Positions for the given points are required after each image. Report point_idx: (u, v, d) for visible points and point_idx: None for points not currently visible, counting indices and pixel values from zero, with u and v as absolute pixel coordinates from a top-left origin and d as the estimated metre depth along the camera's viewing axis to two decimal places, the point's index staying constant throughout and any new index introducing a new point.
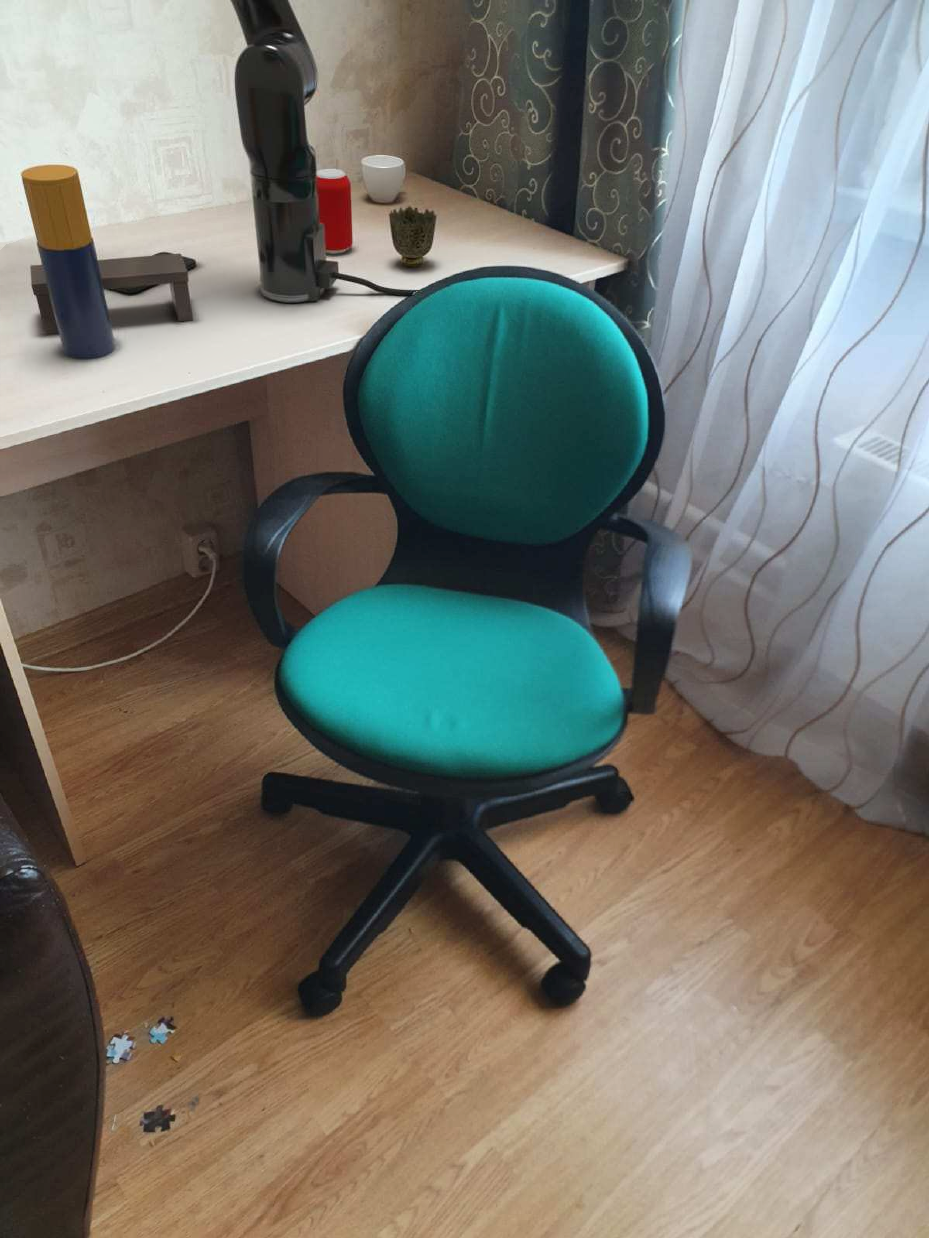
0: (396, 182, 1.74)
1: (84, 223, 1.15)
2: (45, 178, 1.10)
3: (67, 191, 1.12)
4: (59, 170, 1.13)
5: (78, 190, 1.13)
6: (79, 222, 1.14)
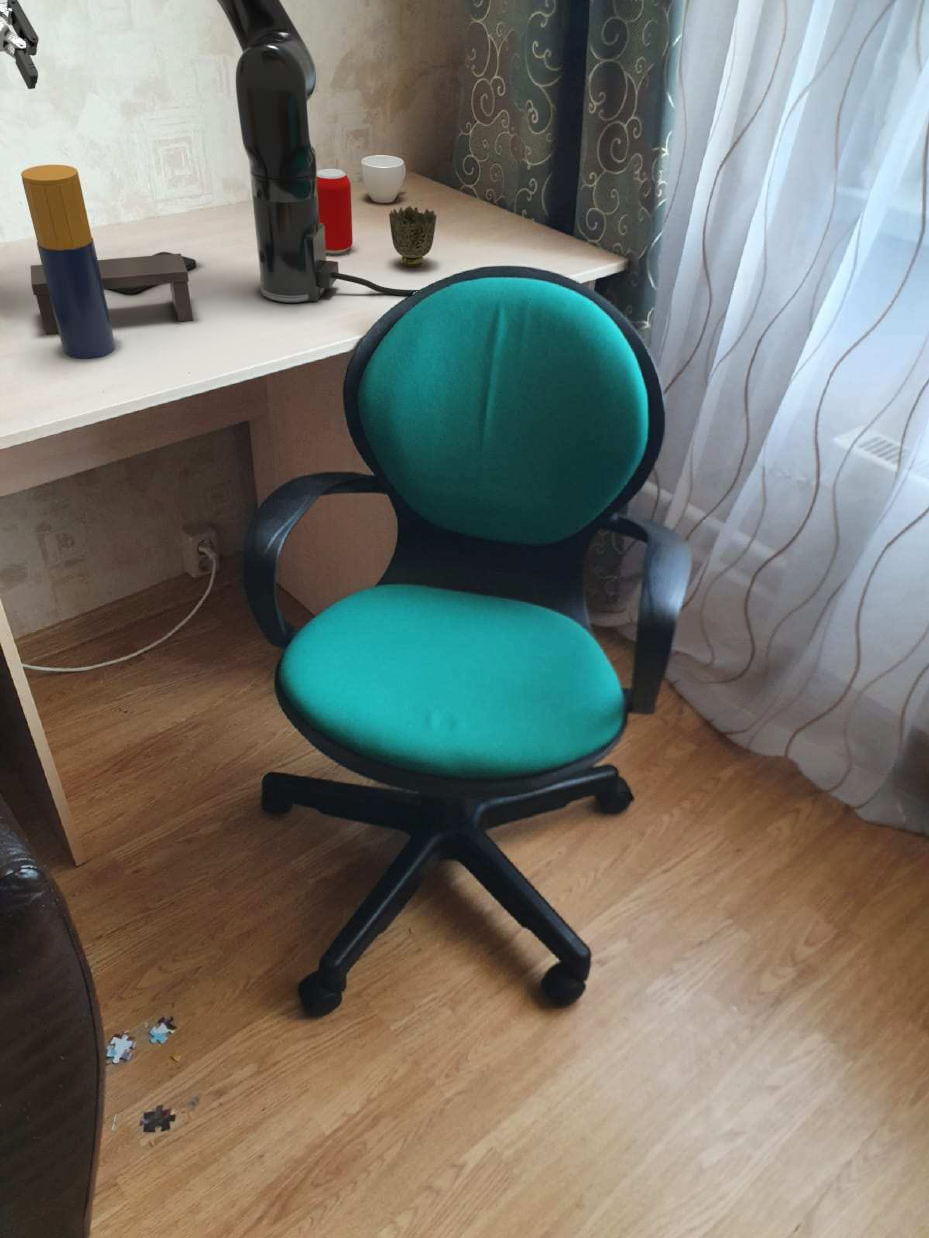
0: (396, 182, 1.74)
1: (84, 223, 1.15)
2: (45, 178, 1.10)
3: (67, 191, 1.12)
4: (59, 170, 1.13)
5: (78, 190, 1.13)
6: (79, 222, 1.14)
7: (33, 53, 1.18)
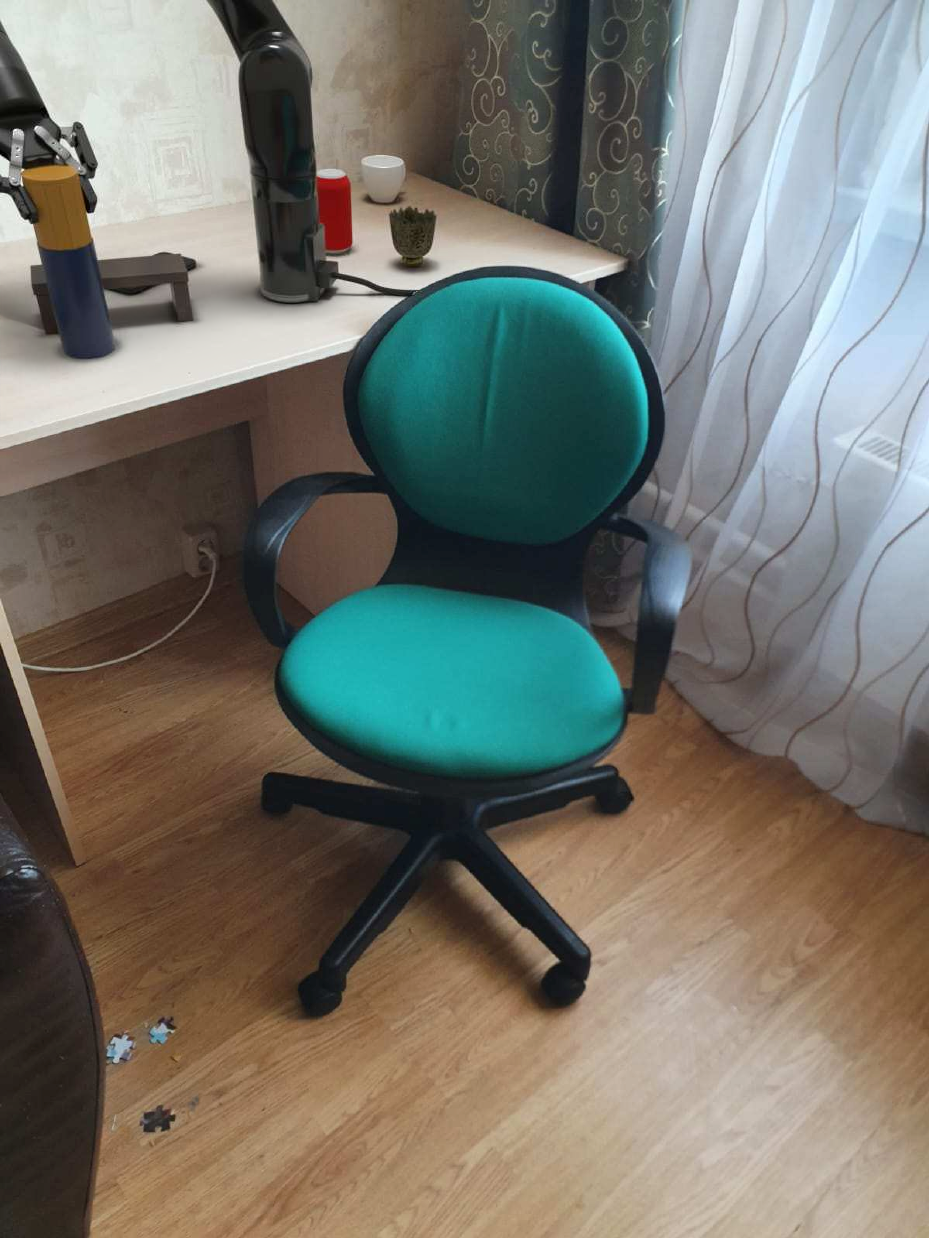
0: (396, 182, 1.74)
1: (84, 223, 1.15)
2: (45, 178, 1.10)
3: (67, 191, 1.12)
4: (59, 170, 1.13)
5: (78, 190, 1.13)
6: (79, 222, 1.14)
7: (91, 176, 1.17)
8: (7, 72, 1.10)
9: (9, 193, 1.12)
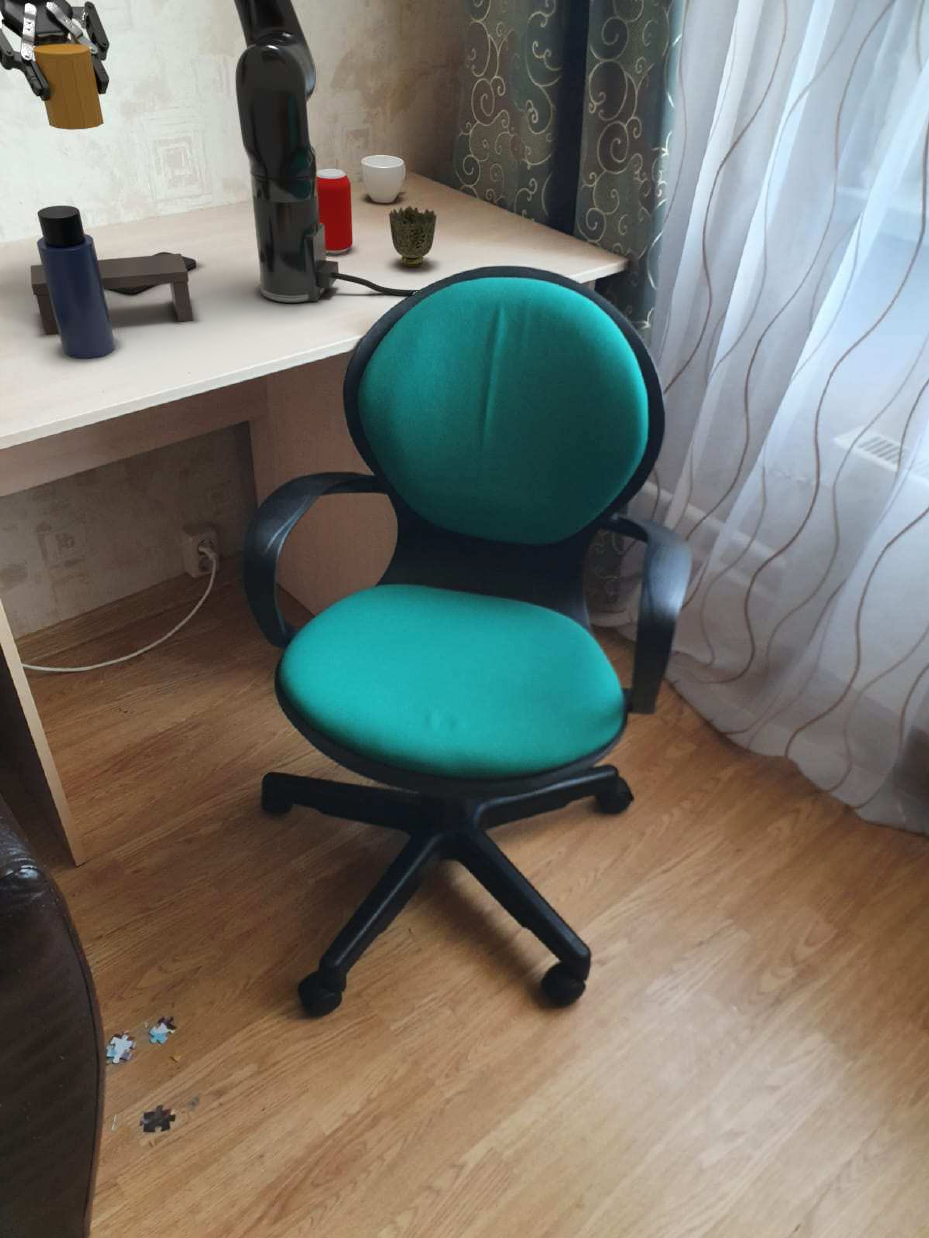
0: (396, 182, 1.74)
1: (96, 103, 1.15)
2: (58, 52, 1.10)
3: (79, 67, 1.11)
4: (71, 47, 1.13)
5: (90, 67, 1.13)
6: (91, 101, 1.14)
7: (102, 58, 1.17)
8: None
9: (21, 69, 1.11)
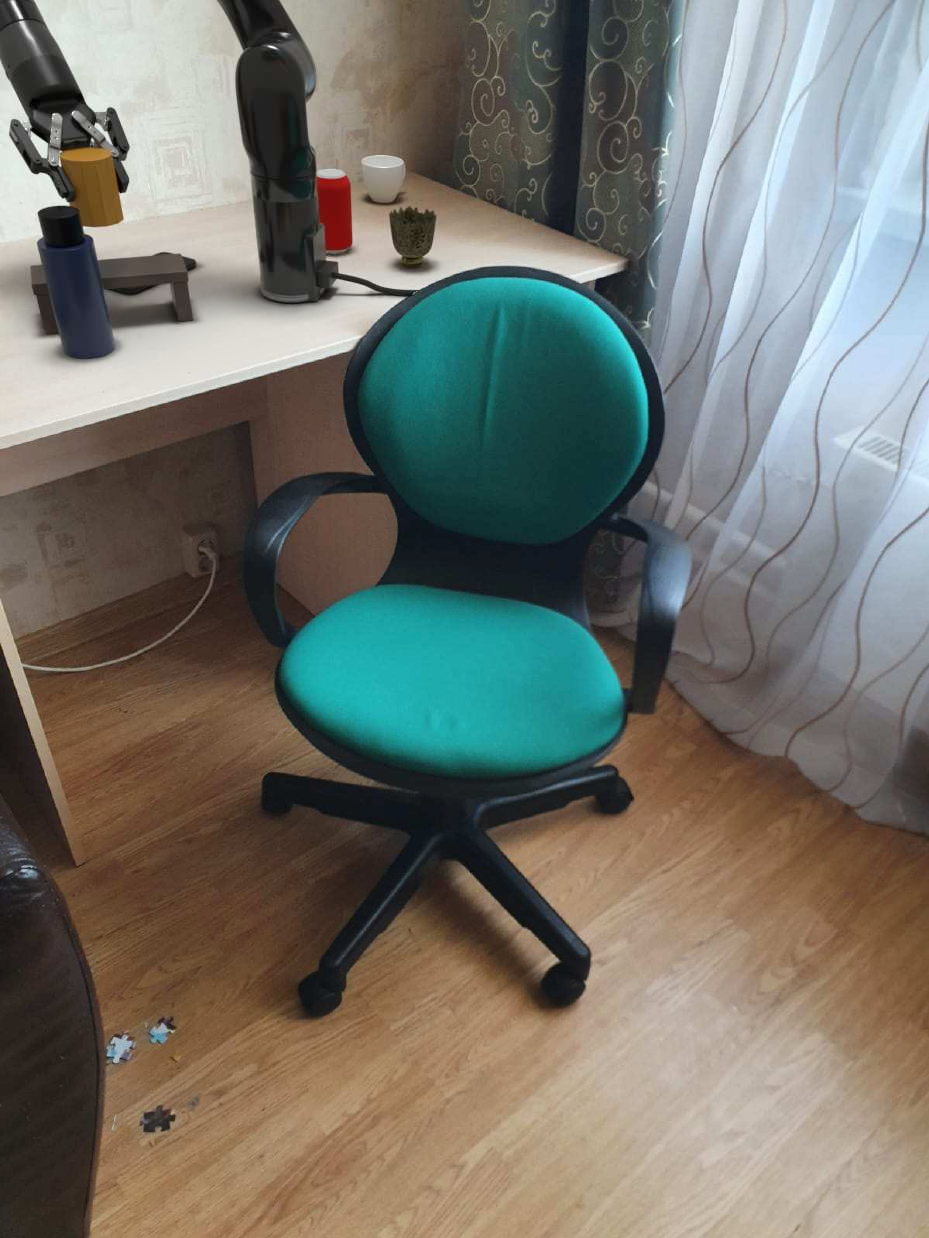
0: (396, 182, 1.74)
1: (117, 202, 1.23)
2: (82, 159, 1.18)
3: (102, 171, 1.20)
4: (94, 152, 1.21)
5: (112, 171, 1.21)
6: (112, 201, 1.22)
7: (123, 159, 1.25)
8: (47, 60, 1.18)
9: (48, 173, 1.20)
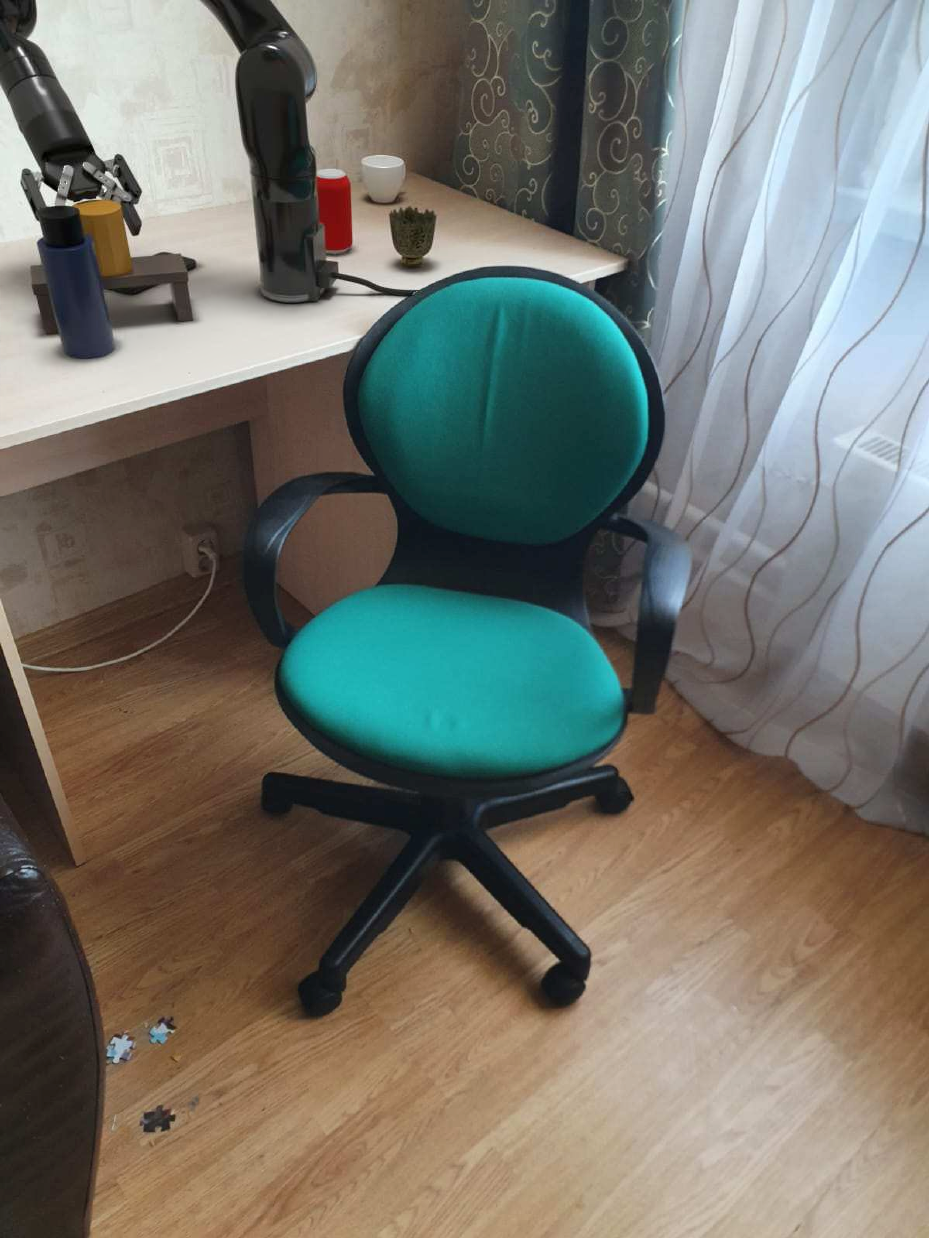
0: (396, 182, 1.74)
1: (126, 252, 1.28)
2: (93, 213, 1.23)
3: (112, 224, 1.24)
4: (104, 205, 1.25)
5: (121, 223, 1.25)
6: (122, 251, 1.27)
7: (136, 202, 1.30)
8: (58, 115, 1.22)
9: None
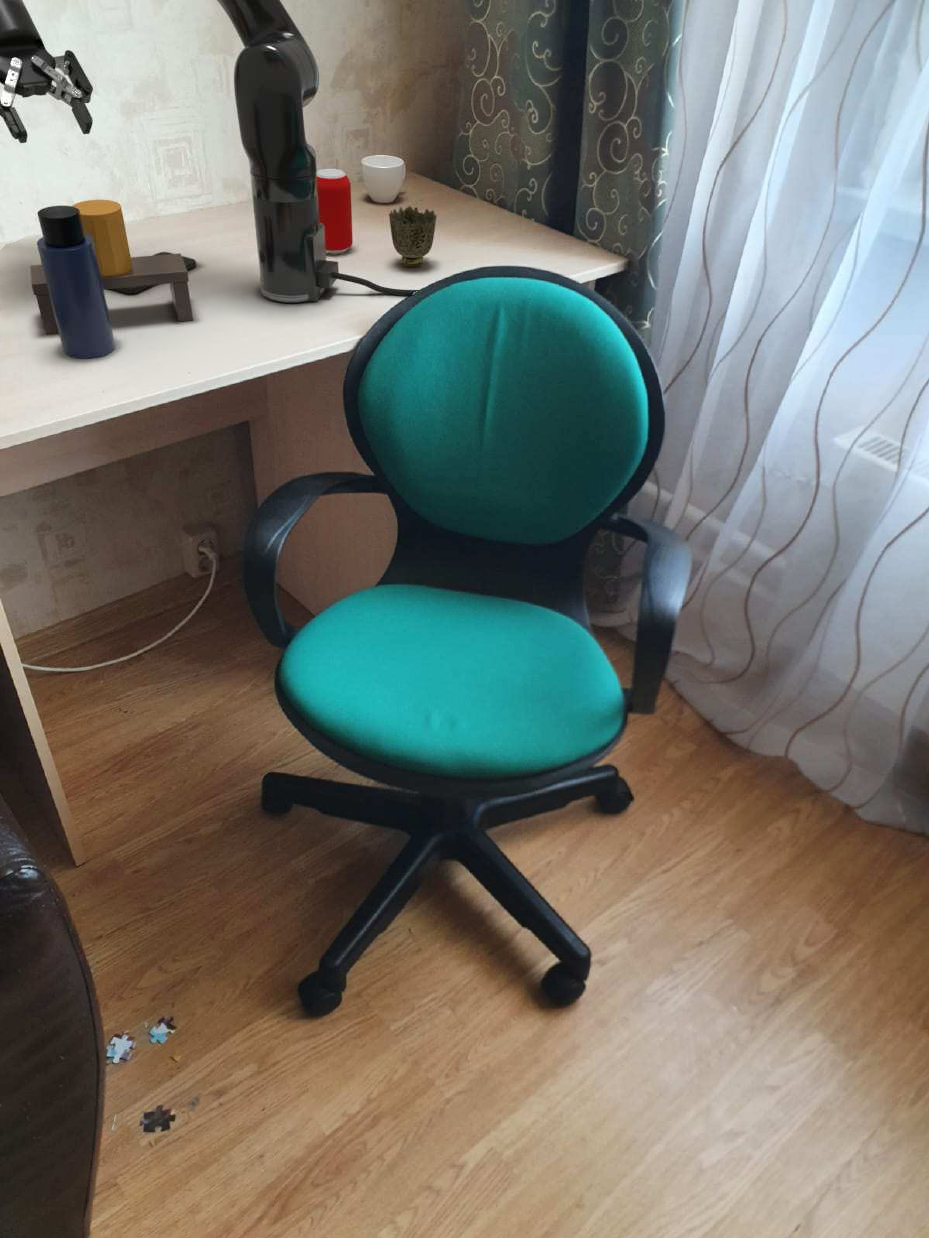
0: (396, 182, 1.74)
1: (126, 252, 1.28)
2: (93, 213, 1.23)
3: (112, 224, 1.24)
4: (104, 205, 1.25)
5: (121, 223, 1.25)
6: (122, 251, 1.27)
7: (87, 101, 1.28)
8: (6, 5, 1.21)
9: (0, 114, 1.22)
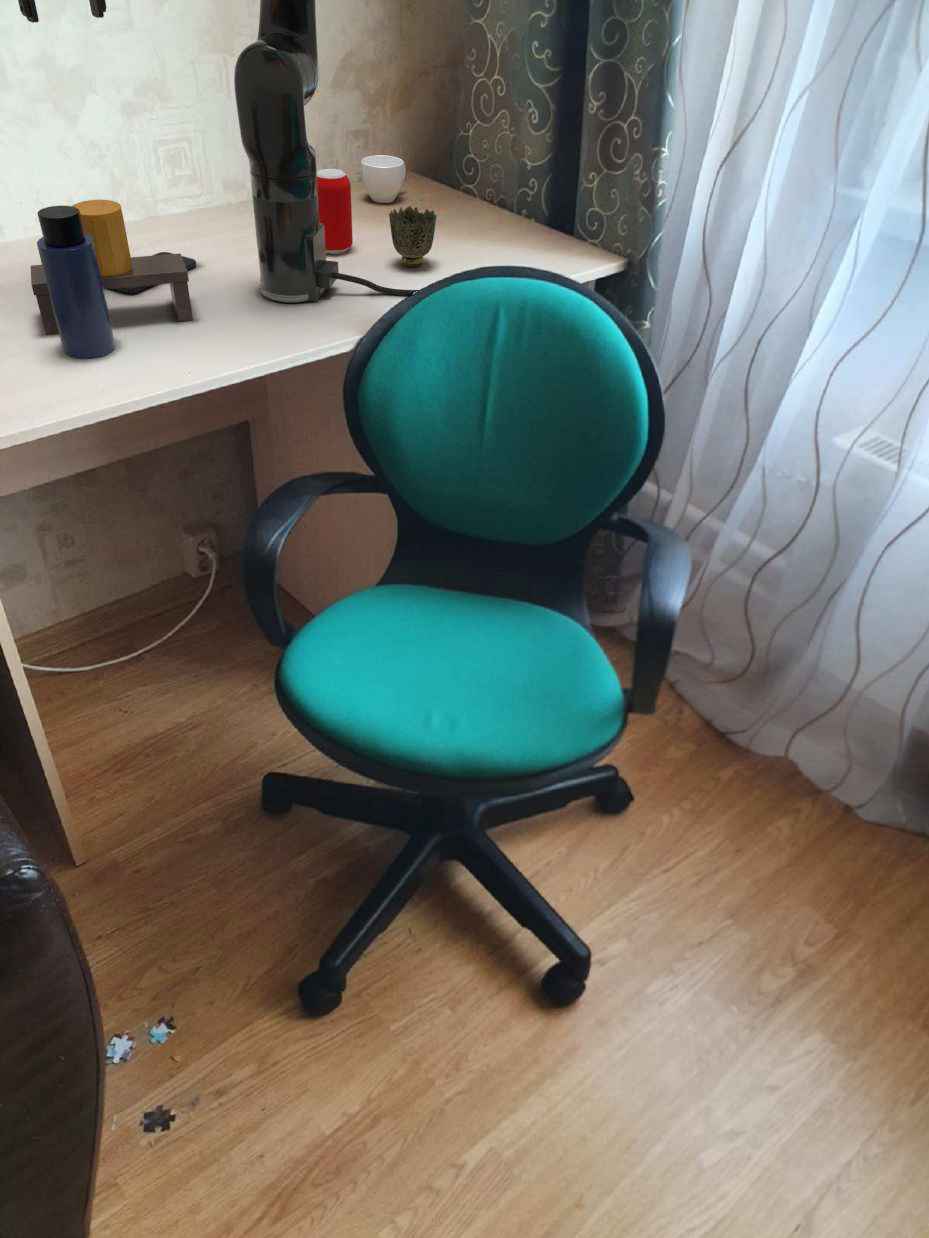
0: (396, 182, 1.74)
1: (126, 252, 1.28)
2: (93, 213, 1.23)
3: (112, 224, 1.24)
4: (104, 205, 1.25)
5: (121, 223, 1.25)
6: (122, 251, 1.27)
7: None
8: None
9: None
